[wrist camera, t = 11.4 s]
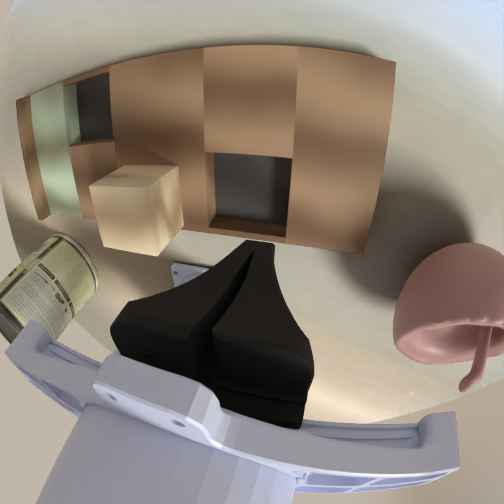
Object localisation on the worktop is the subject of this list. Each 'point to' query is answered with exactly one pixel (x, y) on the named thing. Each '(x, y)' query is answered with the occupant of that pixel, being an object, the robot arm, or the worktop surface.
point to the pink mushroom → (453, 309)
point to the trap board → (224, 138)
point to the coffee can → (47, 287)
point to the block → (138, 207)
